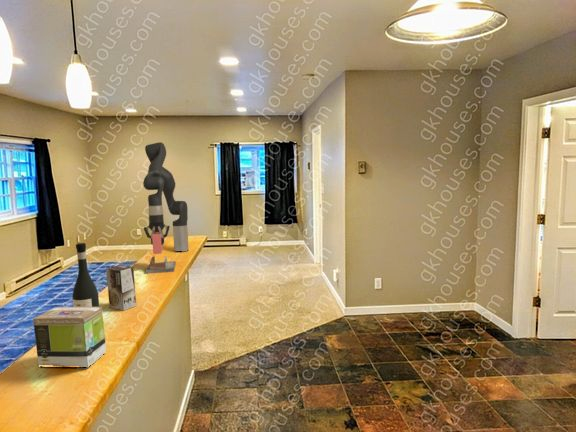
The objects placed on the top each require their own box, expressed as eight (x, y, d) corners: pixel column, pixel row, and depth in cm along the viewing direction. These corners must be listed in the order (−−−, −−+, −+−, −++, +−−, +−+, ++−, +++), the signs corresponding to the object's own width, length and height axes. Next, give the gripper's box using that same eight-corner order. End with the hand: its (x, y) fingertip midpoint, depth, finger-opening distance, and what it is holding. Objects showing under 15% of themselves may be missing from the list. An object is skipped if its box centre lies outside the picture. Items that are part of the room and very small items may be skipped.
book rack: (150, 265, 230) (149, 256, 229) (175, 263, 233) (175, 254, 232) (146, 273, 212) (145, 263, 212) (173, 271, 215) (173, 261, 215)
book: (153, 254, 215) (152, 235, 214) (155, 249, 227) (154, 232, 226) (161, 253, 216) (160, 235, 215) (163, 249, 228) (161, 231, 226)
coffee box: (137, 305, 163) (134, 266, 161) (123, 311, 157) (120, 270, 155) (122, 302, 167) (119, 264, 165) (108, 307, 162) (105, 268, 160)
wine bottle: (90, 333, 136) (82, 246, 133) (70, 332, 138) (61, 245, 134) (105, 324, 144) (98, 241, 141) (86, 323, 146) (78, 241, 142)
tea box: (107, 353, 122) (103, 305, 120) (87, 369, 112) (83, 318, 110) (60, 352, 123) (55, 305, 121) (37, 368, 113) (31, 317, 111)
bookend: (165, 263, 228) (165, 256, 227) (173, 262, 229) (172, 255, 228) (164, 267, 218) (164, 260, 218) (172, 267, 219) (171, 259, 219)
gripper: (141, 215, 214) (143, 247, 216) (169, 213, 217) (171, 245, 219) (143, 213, 221) (145, 244, 223) (170, 212, 224) (171, 242, 226)
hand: (157, 244), depth 221 cm, fingers closed on book, 4 cm apart
